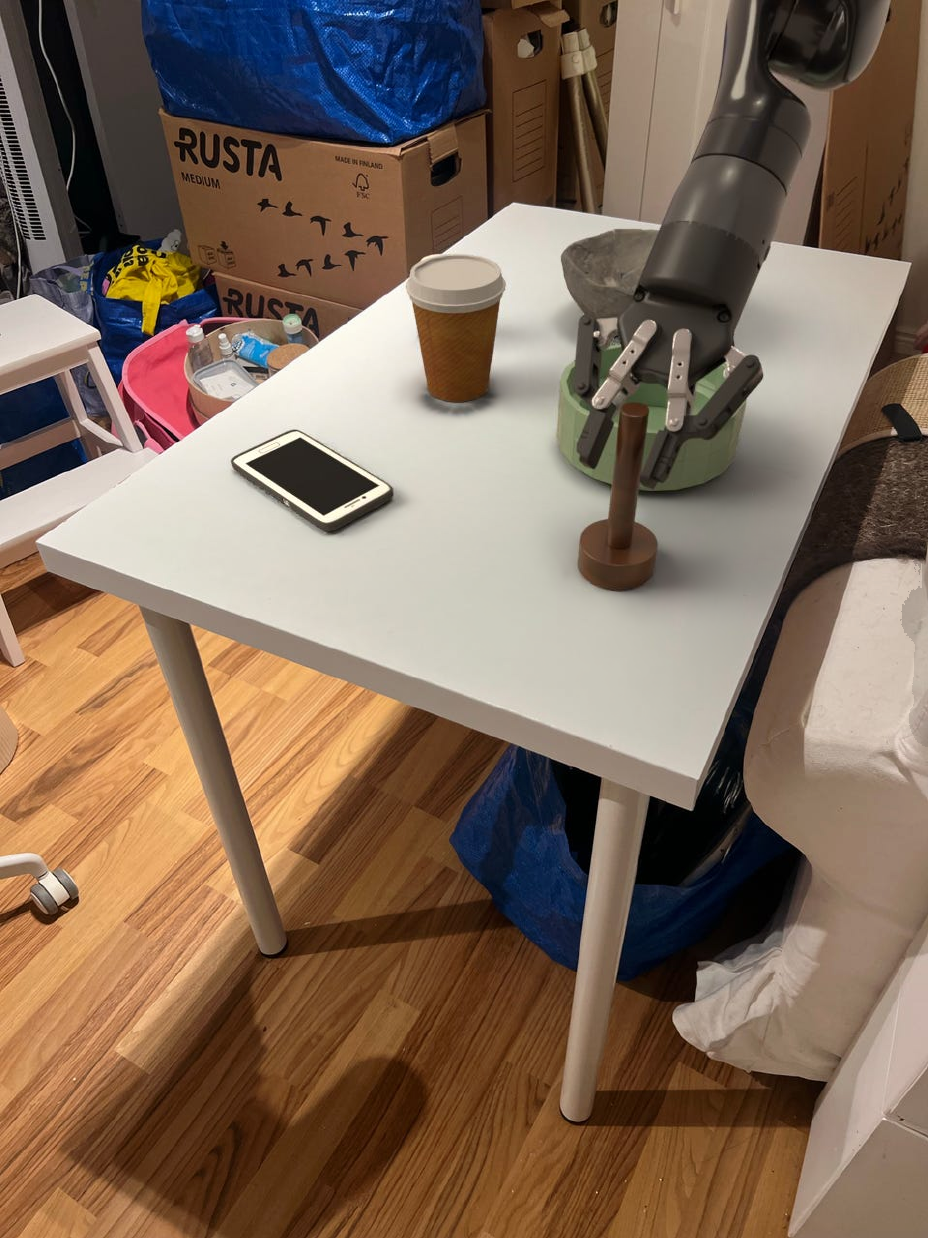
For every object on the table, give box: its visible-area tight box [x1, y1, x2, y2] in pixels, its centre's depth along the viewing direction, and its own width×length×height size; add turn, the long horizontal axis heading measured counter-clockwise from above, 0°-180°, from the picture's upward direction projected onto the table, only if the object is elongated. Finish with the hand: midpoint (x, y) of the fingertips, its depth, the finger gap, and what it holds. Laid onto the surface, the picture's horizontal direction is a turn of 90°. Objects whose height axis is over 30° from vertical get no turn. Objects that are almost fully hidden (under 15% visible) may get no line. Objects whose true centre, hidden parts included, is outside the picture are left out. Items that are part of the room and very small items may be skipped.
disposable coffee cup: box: [405, 253, 507, 403], centre depth 90 cm, size 10×10×12 cm
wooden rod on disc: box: [577, 402, 659, 592], centre depth 68 cm, size 6×6×14 cm
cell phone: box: [230, 428, 394, 532], centre depth 81 cm, size 8×15×1 cm, turn 44°
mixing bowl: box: [556, 343, 748, 492], centre depth 83 cm, size 16×16×6 cm
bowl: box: [560, 228, 660, 319], centre depth 101 cm, size 18×18×8 cm
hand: (616, 474), depth 64 cm, fingers open, 4 cm apart
